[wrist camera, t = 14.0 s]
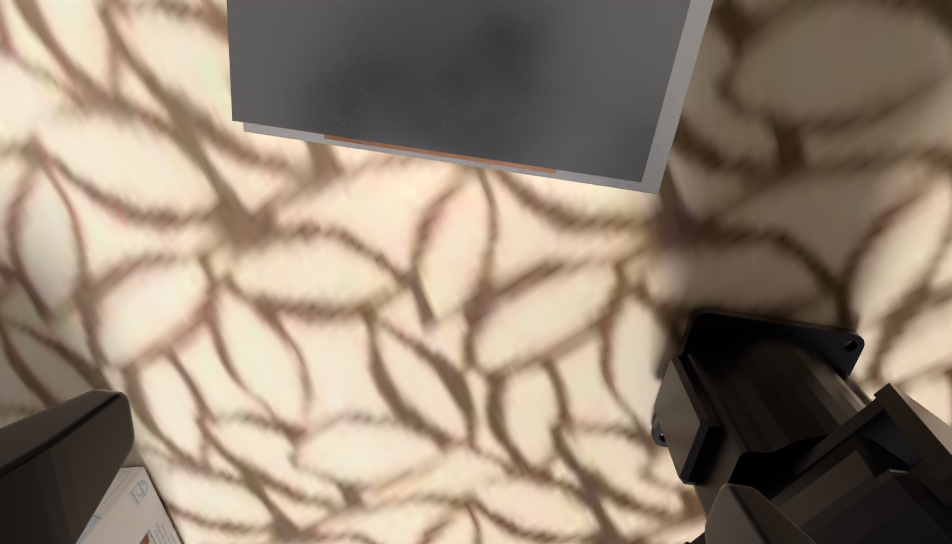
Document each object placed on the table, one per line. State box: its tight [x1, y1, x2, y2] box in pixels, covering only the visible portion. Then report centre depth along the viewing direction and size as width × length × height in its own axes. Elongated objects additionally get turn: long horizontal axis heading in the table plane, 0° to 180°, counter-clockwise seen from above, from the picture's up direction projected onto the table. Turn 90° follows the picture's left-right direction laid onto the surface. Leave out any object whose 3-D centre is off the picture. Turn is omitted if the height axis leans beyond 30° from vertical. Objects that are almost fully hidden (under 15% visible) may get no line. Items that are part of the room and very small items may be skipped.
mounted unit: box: [227, 0, 713, 194], centre depth 15 cm, size 14×7×6 cm, turn 82°
